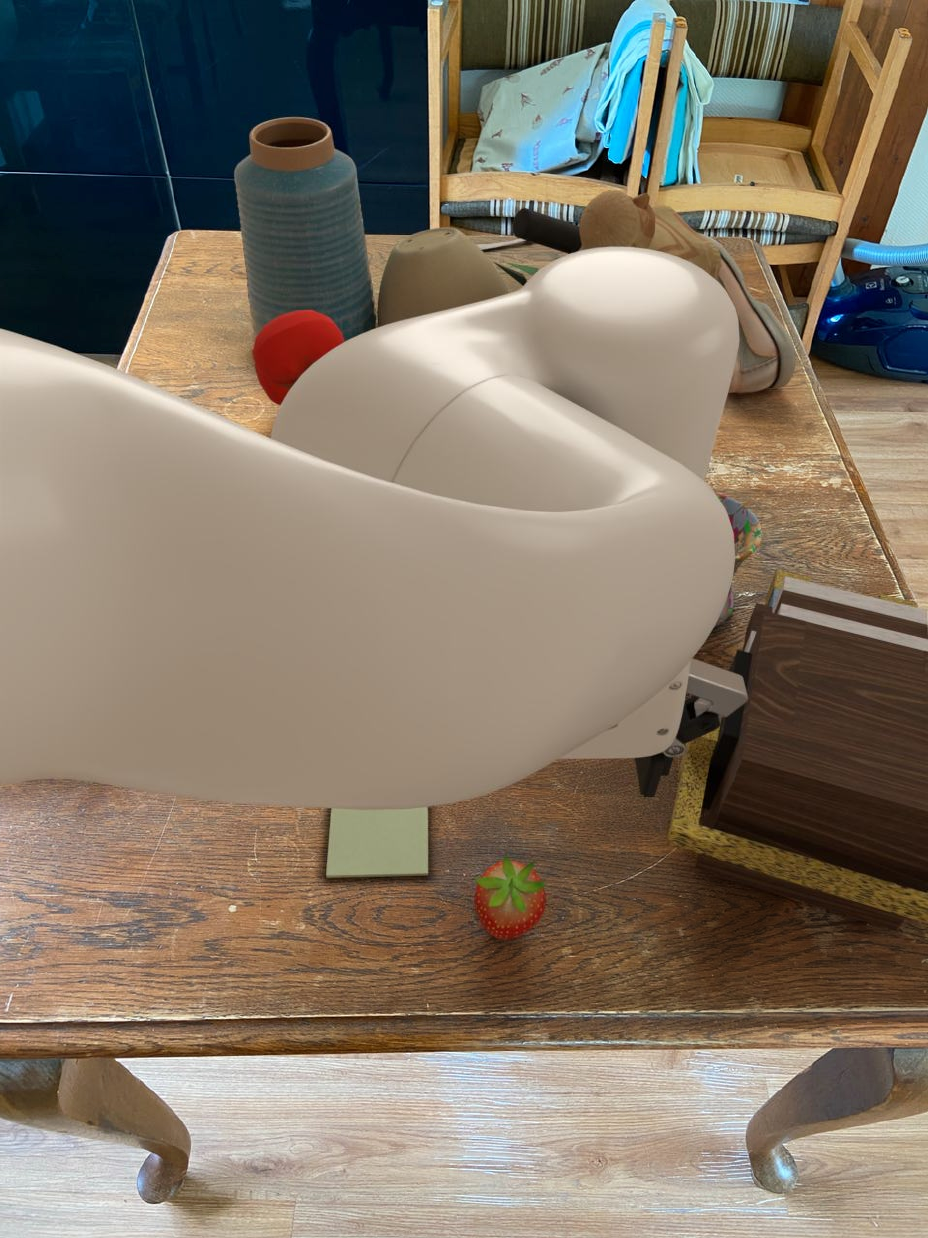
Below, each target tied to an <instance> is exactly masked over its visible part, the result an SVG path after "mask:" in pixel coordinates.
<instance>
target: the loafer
mask: <svg viewBox="0 0 928 1238" xmlns="http://www.w3.org/2000/svg"><path fill="white" fill-rule="evenodd" d="M698 233H699V234H700V235H702V236H703V237H705V238H706V239H708V240H709V241H711V242H712V243H713V244H714V245H715V246H716V247H718V250H719V252H720V256H721V263H722V266H721V268H720V272H719V275H718V279H717V281H718V282H719V283H720V284H721V286H722V287H723V288H724V289H725V290H726V292H727V293H728V295H729V297H730V299H731V301H732V303H733V305H734V307H735V309H736V313H737V316H738V322H739V339H740V340H739V348H738V353H737V358H736V363H735V368H734V372H733V376H732V379H731V383H730V387H729V391H728V394H733V393H737V394H747V393H748V394H751V393H756V392H760V391H762V390H766V389H768V390H774V389H775V390H776V389H779V388H783V387H785V386H787V385H788V384H789V382H790V381H791V380H792V378H793V376H794V374H795V370H796V366H797V365H796V364H797V358H796V357H797V354H796V347H795V345H794V342H793V340H792V338H791V336H790V334H789V333H788V331H787V329H786V328H785V327H784V325H783V324H782V322H781V321H780V320H779V319H778V317H777V316H776V314H775V313H774V312H773V310H772V309H771V307H770V306H769V304H768V303H764V302H761V301H760V300H758V299H756V298H754V296H752V295H751V293H750V292H749V290H748V288H747V287H746V285H745V281H744V274H743V272H742V270H741V269H740V266H739V265H738V263H737V262H736V261H735V259H734V258H733V256H732V255H731V254H730V253H729V251H728V250H727V249H726V248H724V246H723V245H722V244H721V243H720V242H718V241H717V240H716V239H714V238H713V237H711V236H709V235H706V234H704V233H701V232H698Z"/></svg>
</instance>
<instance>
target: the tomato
mask: <svg viewBox="0 0 928 1238" xmlns="http://www.w3.org/2000/svg"><path fill="white" fill-rule="evenodd" d="M342 343H344V338H343V335H342V332H341V331H340V330H339V328H338V327H337V326H336V324H335V323H334V322H333V321H332V320H331V319H330V317H328V316H325V315H323V314H321V313H318V312H316V311H313V310H298V311H293V312H290V313H287V314H283V315H280V316H278V317H277V318H275V319H274V320H272V321H270V322H269V323H267V324H266V325H265V326H264V327H263V328H262V330H261V331H260V332H259V334H258V335H257V336H256V340H255V343H254V344H253V347H252V348H253V349H252V350H251V351H252V356H253V360H254V371H255V374H256V377H257V380H258V383H259V385H260V386H261V388H262V390H263V391H264V392H265V395H266V396H267V397H268V399H269V400H270V401H271V402H273V403H274V404H275V405H278V406H281V403H282V402H283V400H284V398H285V397H286V395H287V393H288V392H289V390H290V389H291V388H292V386H293V385H294V384H295V382H296V381H297V380H298V379H299V377H300V376H301V375H302V374H303V373H304V372H305V371H306V370H307V369H308V368H309V367H310V366H311V365H312V364H313V363H315V362H316V361H317V360H319V359H320V358H321V357H322V356H324V355H325V354H327V353H328V352H329V351H331V350H332V349H334V348H335V347H337V346H339V345H340V344H342Z"/></svg>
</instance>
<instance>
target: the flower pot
mask: <svg viewBox="0 0 928 1238" xmlns="http://www.w3.org/2000/svg"><path fill="white" fill-rule="evenodd" d="M476 244H477V243H475V242H474V241H473V240H472V239H471V238H469V236H467V235H465V233H463V232H462V231H461V230H459V229H458V228H455V227H447V226H446V227H436V228H430V229H426V230H421V231H418V232H416V233H412V234H410V235H408V236H405V237H404V238H402V239H400V240H398V241H397V242H396V243H395V244H394V245H393V247H392V248H391V250H390V253H389V255H388V259H387V260H386V263H385V267H384V268H383V273H382V275H381V280H380V283H379V284H380V285H379V289H378V290H379V291H378V296H377V309H376V315H377V324H378V327H381V326H384V325H387V324H391V323H394V322H398V321H401V320H405V319H410V318H414V317H418V316H422V315H426V314H430V313H435V312H439V311H443V310H448V309H452V308H456V307H460V306H464V305H468V304H472V303H476V302H480V301H484V300H488V299H491V298H495V297H498V296H501V295H505V294H508V293H510V292H509V290H508V288H507V285H506V284H505V281H504V280H503V278H502V276H501V274H500V273H499V271H498V269H497V268H496V266H495V264H494V262H492V260H491V259H490V258H489V256H488V255H487V254H486V253H485V252H484V251H483V250H481V249H480V248H479V247H478V246H477V245H476Z"/></svg>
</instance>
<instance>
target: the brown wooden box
mask: <svg viewBox="0 0 928 1238" xmlns="http://www.w3.org/2000/svg"><path fill="white" fill-rule="evenodd" d="M812 579H813V578H812V577H811V576H806V575H802V574H798V573H793V572H789V571H785V570H781V569H777V568H776V570H775V573H774V575H773V577H772V580H771V583H770V585H769V588H768V590H767V593H766V597H765V604H762V603H758V602H755V605H754V608H753V611H752V614H751V617H750V619H749V622H748V624H747V627H746V631H745V636H744V642H743V648H742V650H741V649H737V650H736V651H735V654H734V657H733V660H732V662H731V665H730V668H729V671H730V672H733V673H736V674H739V675H741V676H742V677H743V679H744V682H745V686H746V690H747V694H748V701H747V702H746V703H745V704H743V705H742V706H741V707H739V708H738V709H737V710H736V711H734V712H733V713H732V714H730V715H729V716H728V717H723V718H722V719H720V726H719V728H718V729H716V730H714V731H712V732H710V733H708V734H705V735H703V736H701V737H699V738H697V739H695V740H692V741H690V742H688V743H686V749H687V751H686V753H684V754H683V755H681V759H680V765H679V769H678V775H677V779H676V784H678V785H677V790H676V795H675V800H674V805H673V810H672V815H671V820H670V824H669V829H668V834H667V839H666V844H667V845H671V846H673V847H677V848H680V849H682V850H683V849H684V850H687V851H690V852H694V853H696V854H697V855H696V861H695V866H694V869H695V870H697V871H700V872H703V873H707V874H711V875H713V876H717V877H720V878H723V879H727V880H729V881H733V882H737V883H739V884H743V885H746V886H748V887H749V886H750V887H752V888H756V889H759V890H763V891H766V892H768V893H772V894H775V895H778V896H780V897H781V896H782V897H785V898H787V899H791V900H794V901H797V902H801V903H804V904H807V905H810V906H814V907H817V908H820V909H823V910H826V911H830V912H833V913H836V914H840V915H843V916H846V917H849V918H852V919H854V920H855V919H856V920H857V921H862V922H864V923H867V924H871V925H875V926H878V927H880V928H884V929H887V930H891V931H893V932H896V931H897V929H899V927H900V926H901V925H902V923H904V921H905V920H906V919H910V920H911V919H912V920H915V921H918V922H921V923H925V924H928V609H924V608H920V607H918V602H915V601H910V600H906V599H902V598H898V597H894V596H890V595H885V594H881V593H880V595H879V596H878V597H873V596H869V595H866V594H861V593H857V592H852V591H848V590H845V589H840V588H836V587H832V586H828V585H824V584H819V583H815V582H812ZM702 809H704V815H703V821H702V825H701V824H700V819H701V814H702Z"/></svg>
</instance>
